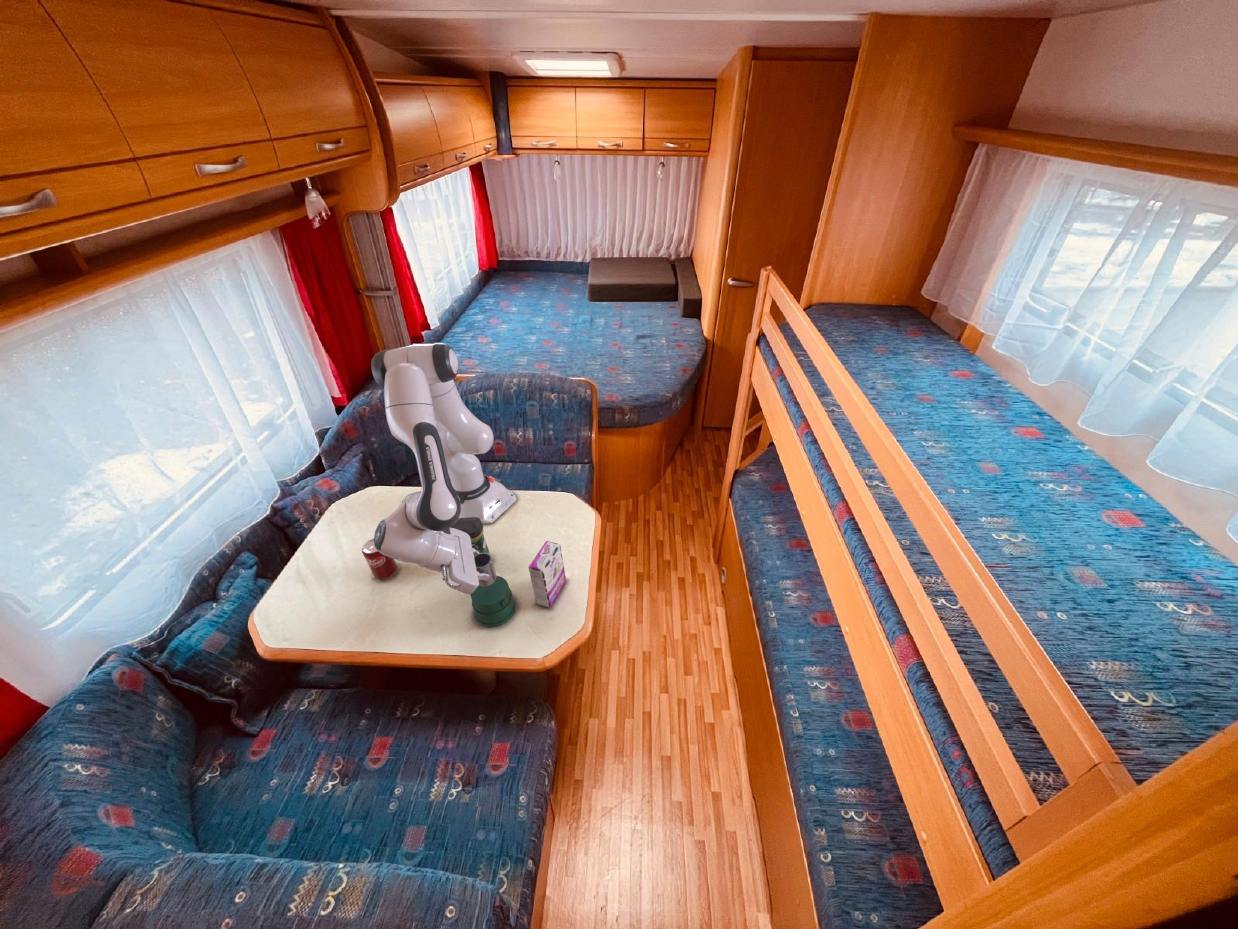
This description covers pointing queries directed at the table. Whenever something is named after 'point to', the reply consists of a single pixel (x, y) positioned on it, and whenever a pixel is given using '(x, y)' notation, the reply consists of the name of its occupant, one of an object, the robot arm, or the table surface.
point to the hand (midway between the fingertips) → (486, 568)
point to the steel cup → (485, 568)
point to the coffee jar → (473, 532)
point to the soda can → (378, 561)
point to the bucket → (493, 603)
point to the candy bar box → (547, 574)
